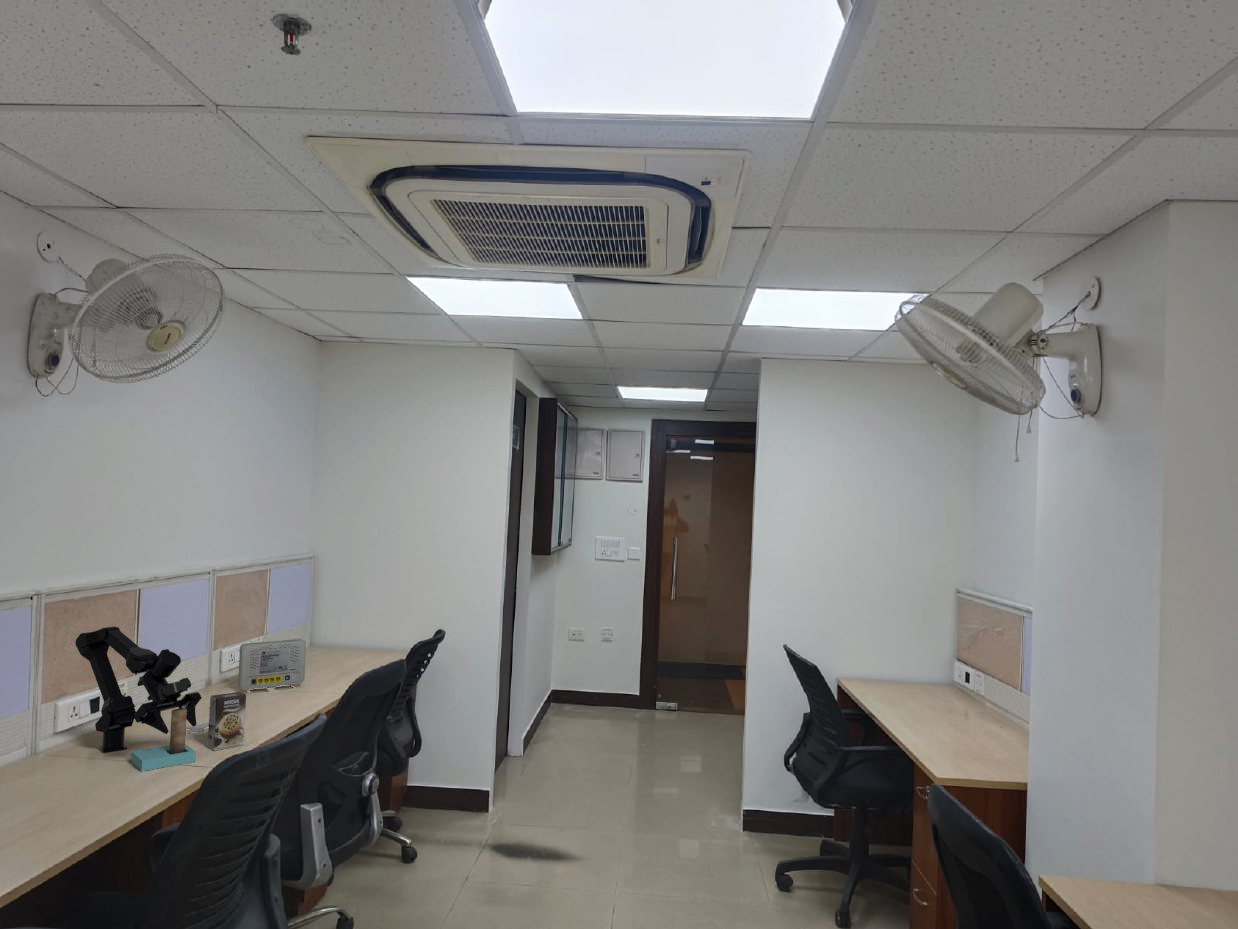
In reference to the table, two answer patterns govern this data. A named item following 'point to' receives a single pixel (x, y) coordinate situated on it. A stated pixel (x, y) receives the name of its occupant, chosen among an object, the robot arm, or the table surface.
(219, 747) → the brown cookie box
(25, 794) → the table surface
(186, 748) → the holder block
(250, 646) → the network device
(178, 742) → the peg
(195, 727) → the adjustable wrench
